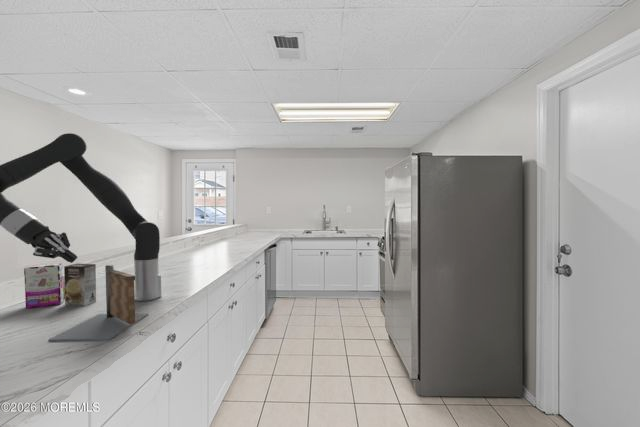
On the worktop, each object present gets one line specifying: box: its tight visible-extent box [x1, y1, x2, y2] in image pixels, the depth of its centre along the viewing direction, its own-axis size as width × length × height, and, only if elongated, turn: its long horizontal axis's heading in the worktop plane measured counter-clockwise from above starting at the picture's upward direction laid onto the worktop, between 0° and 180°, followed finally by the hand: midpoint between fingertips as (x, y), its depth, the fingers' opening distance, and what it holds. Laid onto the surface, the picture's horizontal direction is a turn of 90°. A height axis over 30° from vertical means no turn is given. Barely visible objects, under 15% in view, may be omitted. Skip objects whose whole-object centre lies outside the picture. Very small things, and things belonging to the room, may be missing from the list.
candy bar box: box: [23, 263, 65, 310], centre depth 130 cm, size 11×5×16 cm, turn 117°
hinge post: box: [104, 264, 115, 318], centre depth 114 cm, size 2×2×19 cm
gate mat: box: [47, 313, 149, 342], centre depth 106 cm, size 22×18×1 cm
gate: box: [108, 269, 136, 324], centre depth 108 cm, size 16×2×15 cm, turn 53°
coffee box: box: [63, 263, 97, 307], centre depth 131 cm, size 9×6×16 cm
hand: (74, 260), depth 107 cm, fingers closed
